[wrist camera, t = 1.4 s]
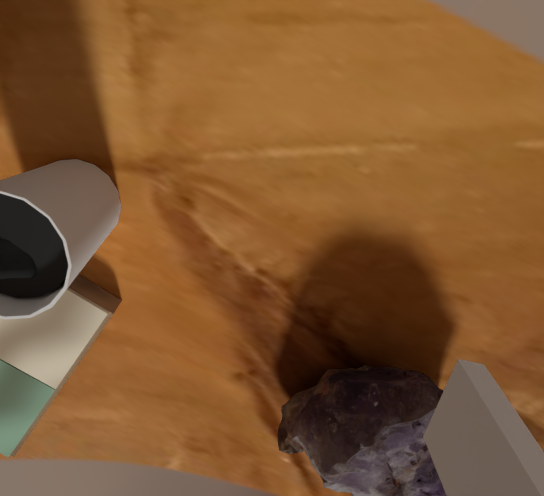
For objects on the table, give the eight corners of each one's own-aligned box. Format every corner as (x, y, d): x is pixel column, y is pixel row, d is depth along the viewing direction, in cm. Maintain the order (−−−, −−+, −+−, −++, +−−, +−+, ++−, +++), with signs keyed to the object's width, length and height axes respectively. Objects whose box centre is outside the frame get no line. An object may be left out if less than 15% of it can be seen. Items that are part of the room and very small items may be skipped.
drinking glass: (126, 254, 35) (72, 327, 25) (28, 243, 34) (-64, 312, 25) (129, 158, 32) (70, 198, 23) (23, 145, 32) (-80, 180, 23)
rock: (406, 443, 42) (454, 338, 38) (458, 544, 34) (526, 423, 30) (265, 430, 39) (302, 315, 35) (285, 537, 31) (335, 402, 27)
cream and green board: (-70, 388, 38) (-90, 407, 36) (19, 237, 34) (2, 249, 32) (26, 438, 40) (12, 459, 38) (121, 300, 36) (111, 315, 34)
